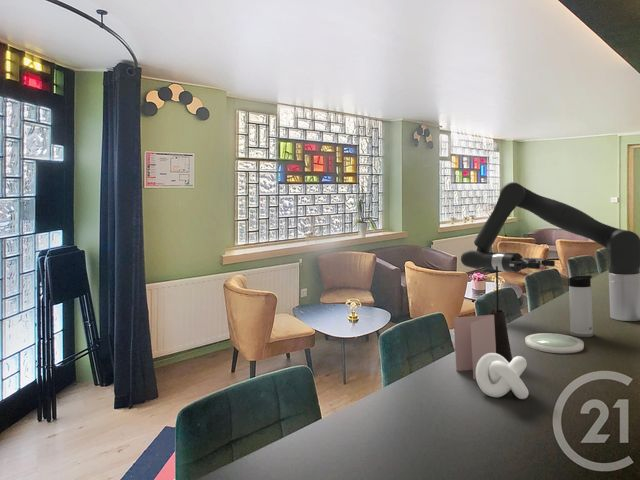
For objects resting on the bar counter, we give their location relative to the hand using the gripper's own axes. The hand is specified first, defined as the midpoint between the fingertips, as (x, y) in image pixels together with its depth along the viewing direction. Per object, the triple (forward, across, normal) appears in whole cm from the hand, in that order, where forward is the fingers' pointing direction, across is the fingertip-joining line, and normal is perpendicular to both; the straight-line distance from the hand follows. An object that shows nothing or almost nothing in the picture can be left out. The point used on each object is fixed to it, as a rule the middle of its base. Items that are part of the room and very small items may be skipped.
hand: (547, 264), depth 143 cm
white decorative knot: (+25, -58, +24) cm, 67 cm away
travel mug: (+11, 0, +23) cm, 26 cm away
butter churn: (+9, -39, +24) cm, 46 cm away
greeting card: (+13, -52, +24) cm, 58 cm away
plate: (+11, -16, +23) cm, 30 cm away
